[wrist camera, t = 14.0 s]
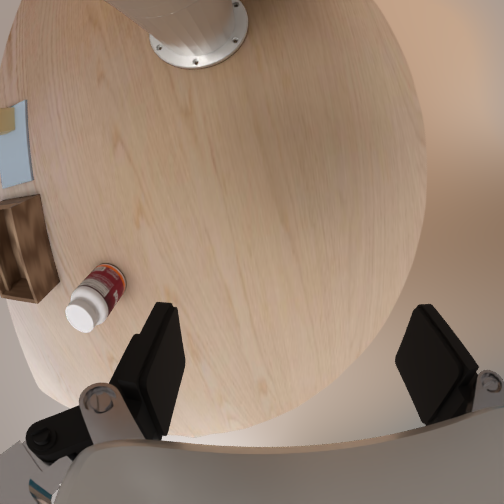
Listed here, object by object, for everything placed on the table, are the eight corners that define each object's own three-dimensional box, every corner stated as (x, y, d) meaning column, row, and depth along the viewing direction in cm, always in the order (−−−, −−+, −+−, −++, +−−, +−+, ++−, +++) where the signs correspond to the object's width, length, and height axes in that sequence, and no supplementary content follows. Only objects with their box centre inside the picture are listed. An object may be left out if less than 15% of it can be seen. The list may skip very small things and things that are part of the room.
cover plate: (-1, 114, 30) (-22, 117, 26) (28, 99, 30) (7, 100, 25) (6, 187, 36) (-14, 195, 31) (35, 179, 36) (14, 187, 31)
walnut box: (3, 200, 37) (-24, 213, 30) (39, 194, 36) (10, 207, 30) (22, 278, 43) (1, 297, 36) (59, 281, 43) (38, 303, 36)
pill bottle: (118, 302, 44) (91, 344, 34) (89, 281, 43) (56, 319, 33) (133, 277, 42) (103, 319, 32) (102, 254, 41) (66, 291, 31)
